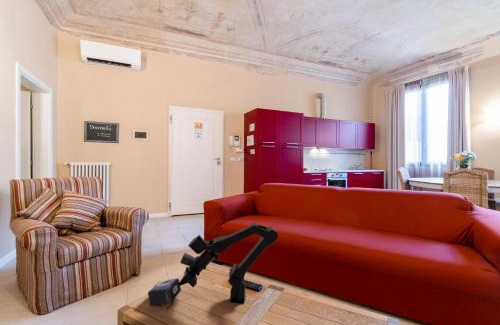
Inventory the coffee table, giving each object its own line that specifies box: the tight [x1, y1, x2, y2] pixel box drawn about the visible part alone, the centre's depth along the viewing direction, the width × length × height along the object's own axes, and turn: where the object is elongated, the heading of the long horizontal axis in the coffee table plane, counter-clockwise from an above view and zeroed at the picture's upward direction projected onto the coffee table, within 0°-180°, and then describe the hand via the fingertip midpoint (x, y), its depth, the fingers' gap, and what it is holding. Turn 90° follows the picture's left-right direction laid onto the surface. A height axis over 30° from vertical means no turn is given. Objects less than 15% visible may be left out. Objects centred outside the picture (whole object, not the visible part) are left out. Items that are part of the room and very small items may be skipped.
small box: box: [147, 278, 182, 306], centre depth 117 cm, size 11×6×10 cm
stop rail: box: [161, 302, 172, 310], centre depth 117 cm, size 2×14×2 cm, turn 171°
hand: (179, 284), depth 116 cm, fingers closed
